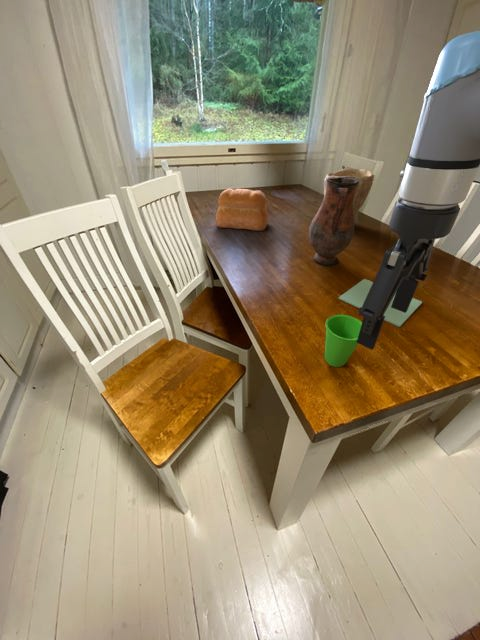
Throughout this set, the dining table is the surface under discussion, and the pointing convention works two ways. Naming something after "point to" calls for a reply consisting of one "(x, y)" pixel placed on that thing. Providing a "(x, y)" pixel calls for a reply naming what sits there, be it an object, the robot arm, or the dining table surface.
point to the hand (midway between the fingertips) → (383, 326)
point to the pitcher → (333, 221)
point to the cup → (341, 338)
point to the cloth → (392, 315)
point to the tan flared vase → (363, 186)
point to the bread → (242, 210)
